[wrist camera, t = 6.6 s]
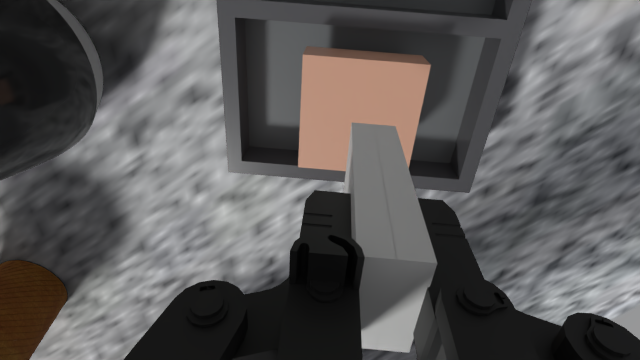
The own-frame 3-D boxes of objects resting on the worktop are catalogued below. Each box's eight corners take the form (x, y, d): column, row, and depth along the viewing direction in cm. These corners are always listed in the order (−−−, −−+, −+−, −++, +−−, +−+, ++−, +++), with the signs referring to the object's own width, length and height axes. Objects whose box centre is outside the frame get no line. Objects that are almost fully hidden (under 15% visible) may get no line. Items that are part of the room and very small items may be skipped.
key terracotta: (401, 158, 20) (406, 176, 19) (301, 150, 20) (298, 167, 19) (422, 55, 18) (431, 64, 16) (306, 46, 18) (302, 54, 16)
